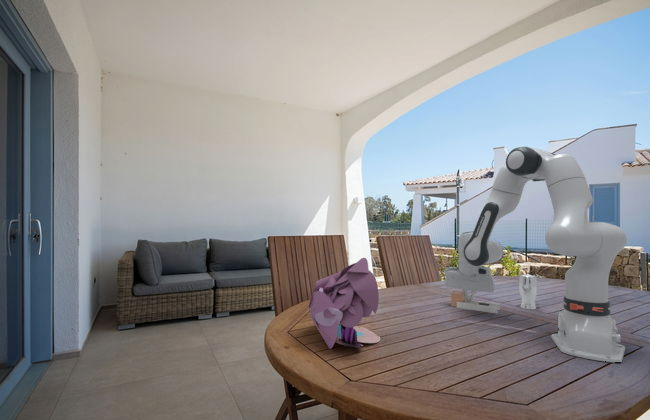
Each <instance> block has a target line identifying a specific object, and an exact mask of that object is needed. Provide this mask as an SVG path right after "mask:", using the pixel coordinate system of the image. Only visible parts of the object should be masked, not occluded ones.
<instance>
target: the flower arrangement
mask: <svg viewBox="0 0 650 420" xmlns="http://www.w3.org/2000/svg"><path fill="white" fill-rule="evenodd" d="M379 295H380V294H379V287H378V282H377V280H376V277H375V275H374V274H373V272H372V270H369V261H368V259H367V258H366V257H362V258H360V259H359V260H358V261H357V262H354V263H352V264H349V265H347V266H346V267H345V268H344V269H342V270H341V271H339V272H336V273H334V274H331V275H329V276H326V277H324V278H321V279H318V280H316V281H315V284H314V288H313V290H312V294H311V298H310V301H309V304H308V308H309V313H310V314H309V316H310V319H311V320H312V323H313V324H314V325H315V327H316V328H317V330H318V332H319V334H320V336H322V339H323V340H324V342H325V344H326V346H327V347H328V349H329V350H331V349H332V348H333V347H334V346H335V343H336V344H339V345H343V346H347V347H354V348H359V349H360V348H361V347H364V345H363V344H361V343H364V344H376V343H379V342H381V337H380V336H378V335H377V334H376V333H375V332H373V331H372V330H370V329H368V328H366V327H363V326H360V327H359V326H358V325H359V324H360V323H361V321H362V320H363V318H369V317H370V316H371V314H372V312H373V313H374V314H375V315H376V314H377V312H378V308H379V300H380V299H379V298H380V297H379Z"/></svg>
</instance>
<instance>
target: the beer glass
mask: <svg viewBox="0 0 650 420" xmlns="http://www.w3.org/2000/svg"><path fill="white" fill-rule="evenodd" d="M537 277H538V276H537V275H533V274H519V279H518V281H519V282H518V288H519V290H518V291H519V295H520V299H521V301H520V303H521V304H520V308H521V309H526V310H536V309H537V307H536V299H537V293H538V279H537Z"/></svg>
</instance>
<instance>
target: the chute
mask: <svg viewBox="0 0 650 420" xmlns="http://www.w3.org/2000/svg"><path fill="white" fill-rule="evenodd" d="M500 307H501V304H500V303H497V302H496V303H495V302H487V301H480V300H474V299H473V300H466V299H465V303H463V302H457V307H456V308H457V309H463V310H468V311H469V310H470V311H478V312H485V313H492V314H499V312H500V309H501V308H500Z"/></svg>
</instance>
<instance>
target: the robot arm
mask: <svg viewBox="0 0 650 420" xmlns="http://www.w3.org/2000/svg"><path fill="white" fill-rule="evenodd" d="M529 181H532V182H542V181H543V182H544V181H545V184H546V188H547V191H548V194H549V198H550V200H551V204H552V207H553V219H552V222H551V223H552V224H551V225H550V227H548V229H547V230H546V232H545V235H544V237H545V238H544V240H545V244H546V246H547V248H548V249H549V251H551V252H552V253H555V254H558V255H561V256H567V257H575V260H574V263H573V264H572V266H571V267H569V268H568V269H567V271H566V272H565V274H564V296H563V300H562V303H563V304H562V306H563V308H564V309H563V310H561V311H560V312H559V313H558V316H557V317H558V318H557V319H558V320H557V321H558V322H557V324H558V325H557V333H552V334H551V336H550V338H551V340H552V341H553V342H554V344H555V345H556V346H557V348H558V349H559V351H560V352H562V353H563V354H567V355H570V356H573V357H577V358H582V359H587V360H591V361H592V360H593V361H598V362H599V361H600V362H605V361H606V363H615V362H621V363H622V362H623V360H624V359H623V358H624V356H625V352H626V346H625V345H623V344H621V343H622V341H621V339H622V337H621V334H620V333H619V327H617V323H616V320H615V319H614V318H613V317H611V309H612V308H611V303H610V301H609V279H610V278H609V277H610V272H611V268H612V266H613V263H614V261H615V259H616V258H617V255H618V254H619V253H620V252H622V250H624V249H625V247H626V245H627V240H628V238H627V234H626V233H625V231H624V230H623V228H621V227H620V226H618V225H615V224H612V223H608V222H603V221H589V220H588V209H589V208H590V207H591V206H592V204H593V203H594V197H593V195H592V193H591V190H590V188H589V185H588V182H587V179H586V177H585V174H584V172H583V170H582V168H581V167H580V164H579V163H578V161H577V160H576V158H575V157H574V156H573V155H571V154H569V153H558V154H555V153H553V152H548V151H546V150H542V149H540V148H535V147H528V146H519V147H515V148H513V149H511V150H510V151H509V153H508V154H507V156H506V158H505V164H504V165H502V166H501V167H500V168H499V170H498V172H497V174H496V177H495V179H494V181H493V184H492V186H491V187H492V188H491V190H490V193H489V195H488V196H489V197H488V199H487V201H486V203H485V205H484V206H483V208H482V211H481V212H480V215H479V217H478V220H477V222H476V225H475V228H474V230H473V231H466V232H462V233H461V234H460V235H459V238H458V254H459V257H458V262H457V263H458V264H457V265H458V267H456V266H453V267H452V266H448V267H446V268H445V269H444V275H445V280H444V286H445V287H446V288H451V289H457V290H459V289H460V290H462V292H463V293H464V295H465V299H466V300H474V296H475V294H476V292H477V291H478V292H484V293H485V292H486V293H493V292H495V290H496V285H495V278H494V276H493V274H492V268H490V267H488V266H484V265H488V264H494V263H497V262H499V261H500V260H501V259H502V258H503V256H504V248H503V245H502V244H501V243H500V242H499V241H497V240H492V239H490V237H491V235H492V233H493V229H494V228H495V226H496V223H498V221H499V220H501V219H502V218H503V217H505V216H507V215H509V214H511V213H512V212H514V211H515V210H516V209H517V207H518V205H519V203H520V201H521V197H522V195H523V191H524V188H525V185H526V184H527V183H528V182H529ZM468 290H469V291H471V293H472V294H471V295H469V294H468V293H467V292H468ZM619 343H620V344H619Z"/></svg>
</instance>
